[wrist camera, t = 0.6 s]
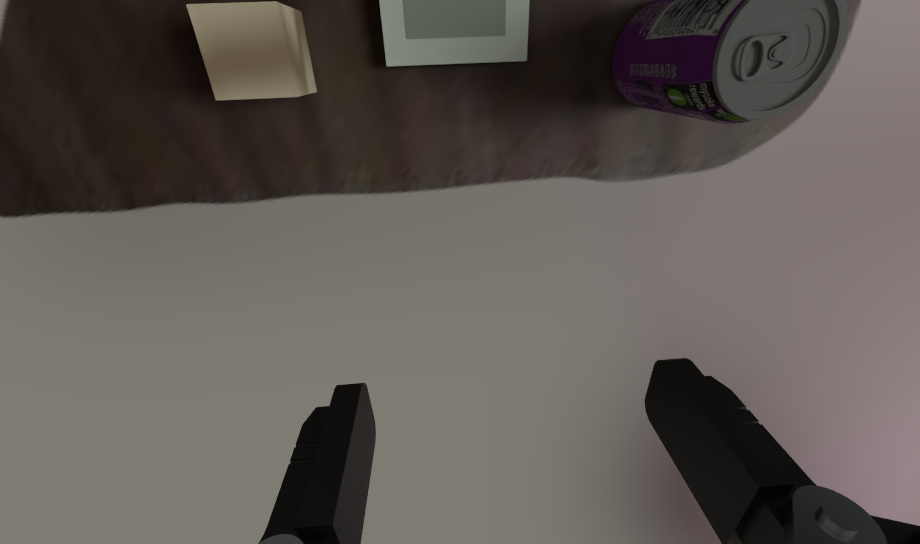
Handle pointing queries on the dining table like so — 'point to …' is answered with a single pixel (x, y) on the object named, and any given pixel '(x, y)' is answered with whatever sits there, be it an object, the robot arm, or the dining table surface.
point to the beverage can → (728, 56)
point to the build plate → (454, 31)
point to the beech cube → (253, 49)
